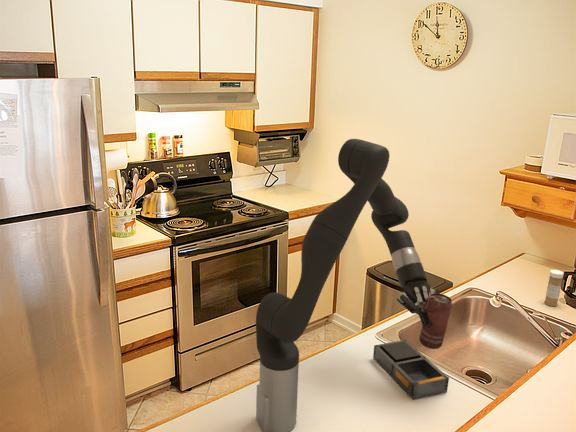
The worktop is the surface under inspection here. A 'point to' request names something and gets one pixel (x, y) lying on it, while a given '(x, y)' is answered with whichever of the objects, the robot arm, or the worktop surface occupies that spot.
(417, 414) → the worktop surface
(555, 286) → the sprinkles bottle
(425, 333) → the can
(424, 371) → the dark grey open box
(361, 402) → the worktop surface
